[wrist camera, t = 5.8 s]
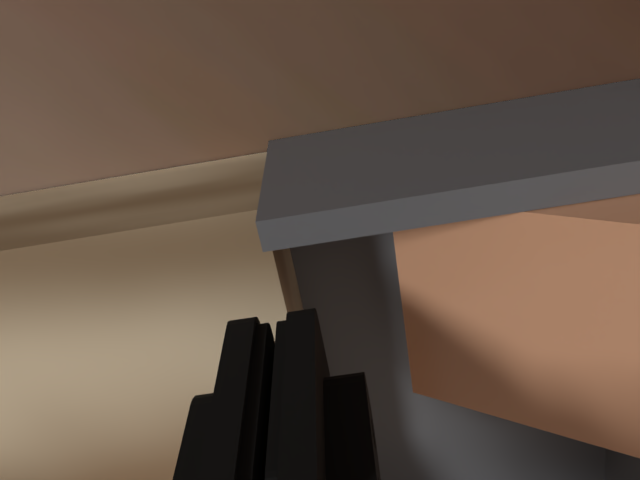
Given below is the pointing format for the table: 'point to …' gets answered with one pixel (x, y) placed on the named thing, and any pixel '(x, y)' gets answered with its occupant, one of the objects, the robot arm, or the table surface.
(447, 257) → the tile
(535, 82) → the table surface
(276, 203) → the bus tub
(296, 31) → the table surface
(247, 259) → the board
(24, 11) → the table surface
